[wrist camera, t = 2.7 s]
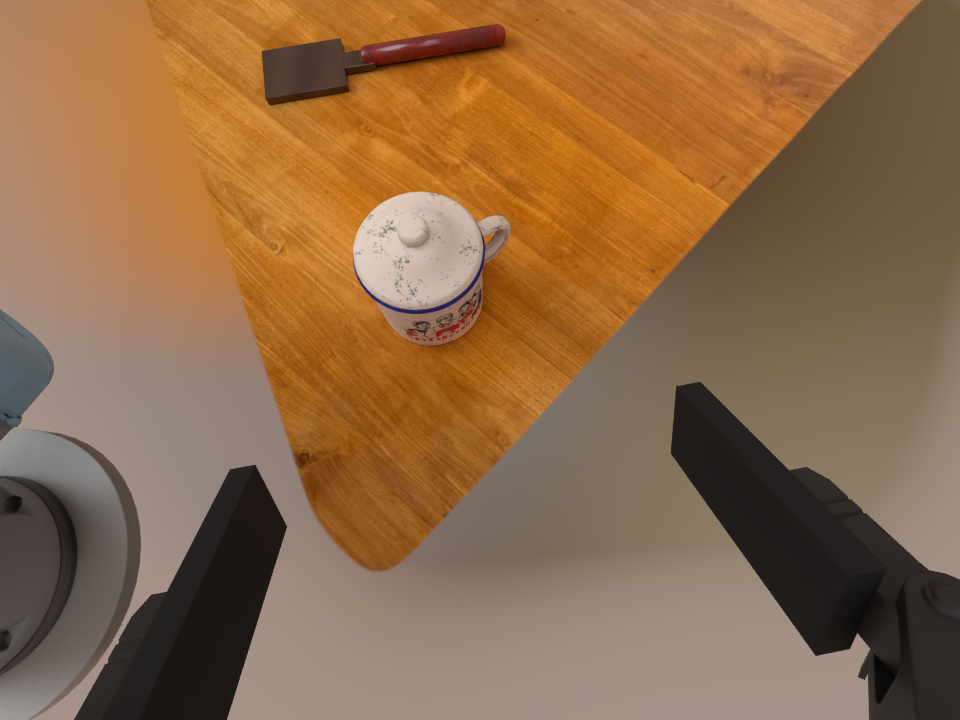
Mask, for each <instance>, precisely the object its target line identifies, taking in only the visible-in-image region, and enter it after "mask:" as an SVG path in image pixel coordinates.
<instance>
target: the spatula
mask: <svg viewBox="0 0 960 720" xmlns="http://www.w3.org/2000/svg"><path fill="white" fill-rule="evenodd" d="M505 37H506V32H505V29H504V28H503V26H501V25H499V24H494V25H488V26H482V27H475V28H469V29H463V30H457V31H451V32H445V33H438V34H432V35H426V36H420V37H414V38H408V39H402V40H395V41H389V42H383V43H377V44H371V45H365V46H363V47H362V48H361V49H360V50H357V51H351V52H345V53H344V50H343V44H342V41H341V39H340V38H339V39H333V40H327V41H321V42H315V43H309V44H302V45H296V46H290V47H284V48H278V49H271V50H265V51H262V60H263V72H264V84H265V97H266V100H267V102H268V104H269V105H271V104H277V103H283V102H289V101H295V100H301V99H307V98H313V97H319V96H325V95H331V94H337V93H343V92H349V86H348V79H347V74H354V73H360V72H366V71H372V70H376V66H378V65H384V64H391V63H397V62H403V61H409V60H415V59H421V58H427V57H433V56H439V55H445V54H451V53H458V52H464V51H470V50H476V49H482V48H488V47H494V46H499V45H501V44H502V43H503V42H504V40H505Z"/></svg>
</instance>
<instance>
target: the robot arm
mask: <svg viewBox="0 0 960 720" xmlns="http://www.w3.org/2000/svg"><path fill="white" fill-rule="evenodd" d="M53 373H54V364H53V360H52V357H51V355H50V353H49V352H48V350H47V349H46V348H45V347H44V346H43V344H42V343H41V342H40V341H39V340H38V339H37V338H36V337H35V336H34V335H33V334H32V333H30V332H29V331H28V330H27V329H26V328H24V327H23V326H22V325H21V324H19V323H18V322H17V321H15V320H14V319H13V318H11V317H10V316H9V315H7V314H6V313H5V312H3V311H2V310H0V440H1V439H2V438H3V437H4V436H5V435H6V434H7V433H8V432H9V431H10V430H11V429H12V428H13V427H17V426H18V425H19V424H20V422H21V420H22V417H21V415H22V414H23V413H24V412H25V411H26V410H27V408H28V407H29V406H30V405H31V404H32V402H33V401H34V400H35V399H36V398H37V397H38V396H39V394H40V393H41V392H42V391H43V390H44V388H45V387H46V386H47V385H48V384H49V382H50V380H51V378H52V376H53ZM671 454H672V456H673V457H674V458H675V460H676V461H677V463H678V464H679V466H680V467H681V468H682V470H683V471H684V473H685V474H686V475H687V477H688V478H689V480H690V481H691V482H692V484H693V485H694V487H695V488H696V489H697V491H698V492H699V493H700V495H701V496H702V498H703V499H704V500H705V502H706V503H707V505H708V506H709V507H710V509H711V510H712V511H713V513H714V514H715V516H716V517H717V519H718V520H719V521H720V523H721V524H722V526H723V527H724V528H725V530H726V531H727V533H728V534H729V535H730V537H731V538H732V539H733V541H734V542H735V544H736V545H737V547H738V548H739V549H740V551H741V552H742V554H743V555H744V556H745V558H746V559H747V561H748V562H749V563H750V564H751V566H752V567H753V569H754V570H755V572H756V573H757V575H758V576H759V577H760V579H761V580H762V581H763V583H764V584H765V586H766V587H767V588H768V590H769V591H770V593H771V594H772V595H773V597H774V598H775V600H776V601H777V602H778V604H779V605H780V607H781V608H782V609H783V611H784V612H785V614H786V615H787V616H788V618H789V619H790V621H791V622H792V623H793V625H794V626H795V628H796V629H797V630H798V632H799V633H800V635H801V636H802V637H803V639H804V640H805V641H806V643H807V644H808V646H809V647H810V648H811V650H812V651H813V653H814V654H815V655H816V656H818V655H823V654H827V653H832V652H837V651H842V650H847V649H850V647H851V645H852V643H853V641H854V639H855V637H856V635H857V633H858V634H859V635H860V637H861V638H862V639H863V640H864V642H865V643H866V644H867V645H868V646H869V647H870V651H869V652H868V655H867V656H866V658H865V660H864V663H863V664H862V666H861V668H860V672H859V675H858V677H859V678H862V679H864V680H865V678H866V676H867V674H868V693H869V720H960V580H959V579H957V578H955V577H952V576H950V575H947V574H944V573H940V572H935V571H930V570H928V569H927V568H925V567H924V566H923V565H922V564H921V563H919V562H918V561H917V560H916V559H915V558H914V557H913V556H912V555H911V554H910V553H909V552H908V551H906V550H905V549H904V548H903V547H902V546H901V545H900V544H899V543H898V542H897V541H896V540H894V539H893V538H892V537H891V536H890V535H889V534H888V533H887V532H886V531H885V530H884V529H883V528H881V527H880V526H879V525H878V524H877V523H876V522H875V521H874V520H873V519H872V518H870V517H869V516H868V515H867V514H866V513H865V514H864V513H863V512H862V509H861V508H860V507H859V506H858V505H856V504H855V503H854V502H853V501H852V500H849V499H848V497H847V496H846V494H845V493H843V492H842V491H841V490H840V489H839V488H838V487H837V486H836V485H835V484H834V483H832V482H831V481H830V480H829V479H827V478H825V477H824V476H822V475H820V474H818V473H816V472H815V471H813V470H811V469H809V468H807V467H804V468H799V469H794V470H788V469H787V468H786V467H785V466H784V465H783V464H782V463H781V462H780V461H779V460H778V459H777V458H776V457H775V456H774V455H773V454H772V453H771V452H770V451H769V450H768V449H767V448H766V447H765V446H764V445H763V444H762V443H761V442H760V441H759V440H758V439H757V438H756V437H755V436H754V435H753V434H752V433H751V432H750V431H749V430H748V429H747V428H746V427H745V426H744V425H743V424H742V423H741V422H740V421H739V420H738V419H737V418H736V417H735V416H734V415H733V414H732V413H731V412H730V411H729V410H728V409H727V408H726V407H725V406H724V405H723V404H722V403H721V402H720V401H719V400H718V399H717V398H716V397H715V396H714V395H713V394H712V393H711V392H710V391H709V390H708V389H707V388H706V387H705V386H704V385H703V384H702V383H701V382H698V383H692V384H686V385H681V386H676V398H675V409H674V421H673V433H672V445H671ZM286 528H287V526H286V524H285V522H284V520H283V518H282V516H281V514H280V512H279V510H278V508H277V506H276V504H275V502H274V500H273V498H272V496H271V494H270V492H269V491H268V489H267V487H266V485H265V483H264V481H263V479H262V477H261V475H260V473H259V471H258V469H257V467H256V465H252V466H246V467H241V468H236V469H231V470H230V471H229V473H228V475H227V476H226V479H225V480H224V482H223V484H222V486H221V488H220V490H219V492H218V494H217V496H216V498H215V500H214V502H213V504H212V505H211V508H210V509H209V511H208V513H207V515H206V517H205V519H204V521H203V523H202V525H201V527H200V529H199V531H198V533H197V535H196V537H195V538H194V541H193V543H192V544H191V547H190V548H189V550H188V552H187V554H186V556H185V558H184V560H183V562H182V564H181V566H180V568H179V569H178V572H177V573H176V575H175V577H174V579H173V581H172V583H171V585H170V587H169V589H168V591H167V592H164V593H159V594H153V595H151V596H150V597H149V598H148V599H147V600H146V602H145V603H144V604H143V605H142V606H141V607H140V608H139V609H138V610H137V612H136V613H135V614H134V615H133V616H132V617H131V619H130V621H129V623H128V624H127V626H126V628H125V630H124V631H123V633H122V635H121V637H120V639H119V644H118V645H116V646H115V648H114V649H113V651H112V653H111V655H110V657H109V658H108V664H105V665H104V667H103V669H102V671H101V673H100V675H99V676H98V678H97V680H96V682H95V684H94V685H93V687H92V689H91V691H90V692H89V694H88V696H87V698H86V700H85V701H84V703H83V705H82V707H81V709H80V710H79V712H78V714H77V716H76V717H75V719H74V720H227V718H228V714H229V711H230V708H231V705H232V702H233V698H234V695H235V691H236V689H237V685H238V682H239V679H240V676H241V673H242V669H243V666H244V663H245V660H246V657H247V653H248V650H249V647H250V644H251V640H252V637H253V634H254V631H255V628H256V625H257V621H258V618H259V615H260V612H261V608H262V605H263V602H264V599H265V596H266V592H267V589H268V586H269V583H270V580H271V576H272V573H273V569H274V567H275V564H276V560H277V557H278V554H279V551H280V548H281V544H282V541H283V538H284V535H285V531H286ZM76 566H77V541H76V535H75V530H74V526H73V523H72V520H71V518H70V516H69V514H68V512H67V510H66V508H65V507H64V505H63V504H62V503H61V501H60V500H59V499H58V498H57V497H56V496H55V495H54V494H53V493H52V492H51V491H50V490H48V489H47V488H46V487H44V486H42V485H40V484H39V483H36V482H34V481H32V480H28V479H25V478H21V477H15V476H0V675H2V674H3V673H5V672H7V671H9V670H10V669H12V668H13V667H14V666H16V665H17V664H19V663H20V662H21V661H22V660H24V659H25V658H26V657H27V656H28V655H29V654H30V653H31V652H33V651H34V650H35V649H36V648H37V647H38V645H39V644H40V643H41V642H42V641H43V640H44V639H45V637H46V636H47V635H48V633H49V632H50V631H51V629H52V628H53V626H54V625H55V623H56V622H57V620H58V618H59V617H60V615H61V613H62V611H63V609H64V607H65V605H66V602H67V600H68V598H69V595H70V592H71V589H72V586H73V582H74V578H75V573H76Z"/></svg>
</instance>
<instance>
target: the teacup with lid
mask: <svg viewBox="0 0 960 720" xmlns="http://www.w3.org/2000/svg"><path fill="white" fill-rule="evenodd" d="M494 232H495V234H494V236H493V237H492V239H491V240H490V241H489V242H488V243H487V244H486V245H485V244H484V239H483V238H484V237H486V236H488V235H490V234H492V233H494ZM510 234H511V226H510V224H509V223H508V221H507V220H506V218H504V217H503V216H499V215H495V216H490V217H487V218H485V219H483V220H481V221H479V222H476V221H475V219H474V218H473V217H472V215H471V214H470V213H469V212H468V211H467V210H466V209H465V208H464V207H463V206H462V205H460V204H459V203H457V202H456V201H454V200H452V199H450V198H448V197H446V196H443V195H440V194H436V193H430V192H410V193H405V194H401V195H398V196H395V197H392V198H390V199H388V200H386V201H385V202H383V203H381V204H380V205H379V206H377V207H376V208H375V209H374V210H373V211H372V212H371V213H370V214H369V215H368V216H367V217H366V219H365V220H364V221H363V223H362V224H361V226H360V228H359V230H358V233H357V235H356V238H355V242H354V249H353V263H354V269H355V273H356V275H357V278H358V280H359V282H360V284H361V285H362V287H363V288H364V290H365V291H366V292H367V293H368V294H369V295H370V296H371V297H372V298H373V299H374V300H375V302H376V303H377V305H378V306H379V308H380V310H381V311H382V313H383V315H384V316H385V318H386V320H387V321H388V323H389V324H390V326H391V327H392V328H393V330H394V331H395V332H397V333H398V334H399V335H400V336H401V337H403V338H405V339H406V340H408V341H411V342H413V343H416V344H420V345H428V346H434V345H441V344H446V343H449V342H451V341H454V340H456V339H458V338H459V337H461V336H462V335H464V334H465V333H466V332H467V331H468V330H469V329H470V328H471V327H472V326H473V324H474V323H475V321H476V320H477V318H478V316H479V313H480V311H481V307H482V301H483V288H482V268H483V264H485V263H486V262H488V261H489V260H491V259H492V258H494V257H495V256H496V255H497V254H498V253H499V252H500V251H501V250H502V249H503V247H504V246H505V244H506V243H507V241H508V239H509V237H510Z"/></svg>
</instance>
